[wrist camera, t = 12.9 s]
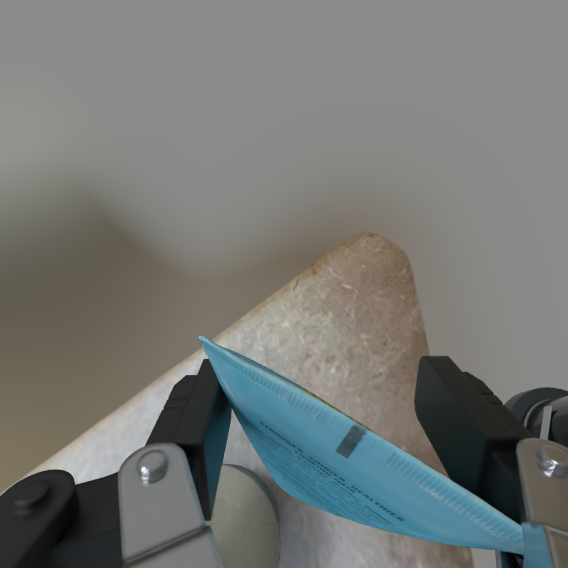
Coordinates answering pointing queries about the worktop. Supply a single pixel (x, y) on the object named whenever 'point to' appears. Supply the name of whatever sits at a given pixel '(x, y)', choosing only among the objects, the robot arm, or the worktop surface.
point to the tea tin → (245, 520)
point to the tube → (351, 463)
